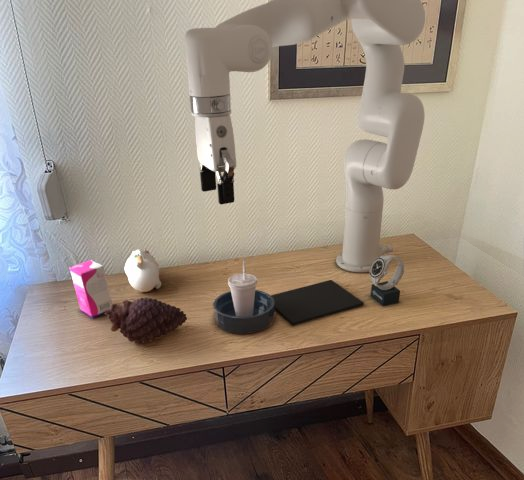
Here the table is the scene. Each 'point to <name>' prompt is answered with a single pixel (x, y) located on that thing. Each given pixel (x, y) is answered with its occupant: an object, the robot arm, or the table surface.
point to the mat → (314, 302)
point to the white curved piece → (142, 271)
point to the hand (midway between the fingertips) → (217, 196)
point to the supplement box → (91, 288)
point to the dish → (244, 325)
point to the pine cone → (145, 319)
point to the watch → (386, 290)
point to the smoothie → (243, 292)
